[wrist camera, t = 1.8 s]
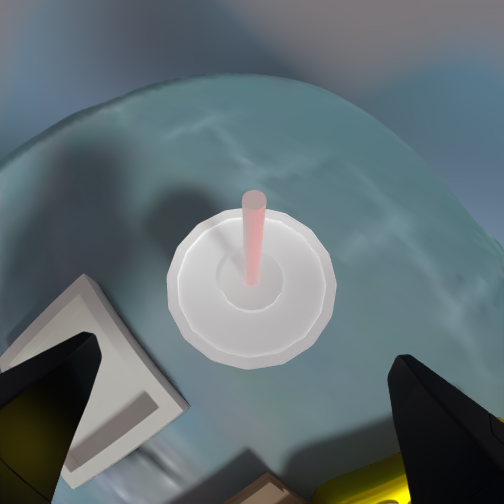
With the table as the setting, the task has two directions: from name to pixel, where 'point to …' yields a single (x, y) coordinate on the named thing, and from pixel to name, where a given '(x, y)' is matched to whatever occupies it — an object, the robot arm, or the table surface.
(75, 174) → the table surface
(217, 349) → the beverage cup
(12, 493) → the robot arm
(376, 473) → the element tile
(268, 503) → the walnut slotted board
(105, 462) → the tray
